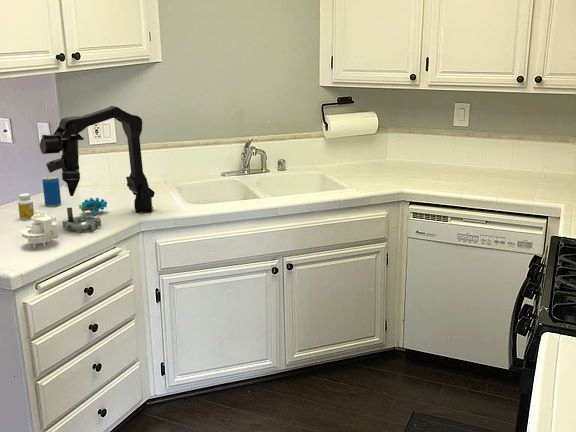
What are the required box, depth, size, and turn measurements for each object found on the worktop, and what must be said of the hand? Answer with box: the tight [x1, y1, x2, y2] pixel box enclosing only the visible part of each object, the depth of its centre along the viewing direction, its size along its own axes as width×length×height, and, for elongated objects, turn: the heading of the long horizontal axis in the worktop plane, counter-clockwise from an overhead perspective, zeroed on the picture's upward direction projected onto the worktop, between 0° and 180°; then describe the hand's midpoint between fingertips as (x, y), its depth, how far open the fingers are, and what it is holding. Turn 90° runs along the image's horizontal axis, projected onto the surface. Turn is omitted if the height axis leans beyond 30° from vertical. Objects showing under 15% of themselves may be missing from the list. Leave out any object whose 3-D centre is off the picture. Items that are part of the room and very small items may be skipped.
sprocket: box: [62, 207, 102, 233], centre depth 242 cm, size 14×14×8 cm
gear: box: [78, 197, 108, 217], centre depth 260 cm, size 11×6×10 cm
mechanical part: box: [20, 209, 60, 248], centre depth 225 cm, size 11×12×12 cm
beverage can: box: [42, 175, 62, 208], centre depth 272 cm, size 6×6×12 cm
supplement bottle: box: [17, 193, 35, 221], centre depth 254 cm, size 5×5×10 cm
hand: (71, 193), depth 244 cm, fingers open, 9 cm apart
